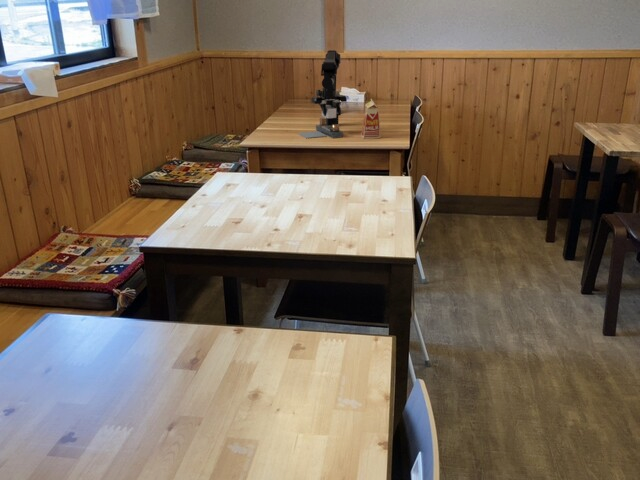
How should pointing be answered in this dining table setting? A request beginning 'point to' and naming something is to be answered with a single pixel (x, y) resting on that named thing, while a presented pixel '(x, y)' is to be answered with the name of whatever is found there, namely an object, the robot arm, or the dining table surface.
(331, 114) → the grey metal block
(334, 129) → the hand plane
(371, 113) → the milk carton
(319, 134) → the rubber mat
